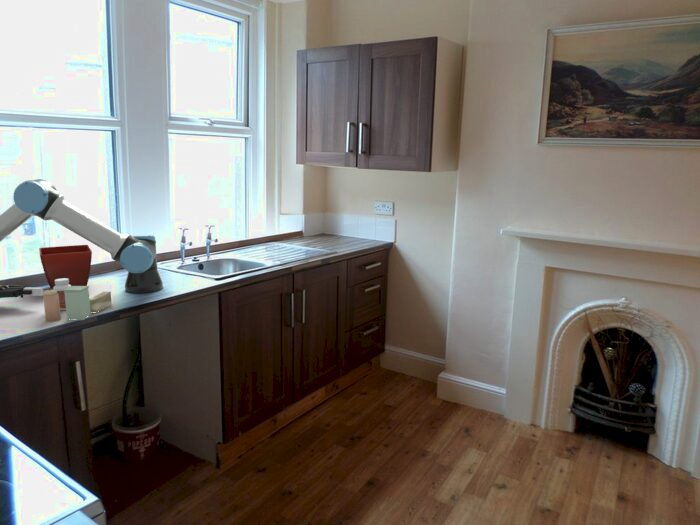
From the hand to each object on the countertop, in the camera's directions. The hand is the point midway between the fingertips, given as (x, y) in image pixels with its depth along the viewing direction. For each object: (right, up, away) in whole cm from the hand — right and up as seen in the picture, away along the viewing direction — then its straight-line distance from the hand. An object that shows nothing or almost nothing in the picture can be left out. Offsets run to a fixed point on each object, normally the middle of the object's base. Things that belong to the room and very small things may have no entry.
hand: (42, 291), depth 205 cm
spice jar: (+11, -9, -12) cm, 19 cm away
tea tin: (+19, -9, -10) cm, 23 cm away
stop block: (+21, -6, +1) cm, 22 cm away
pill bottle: (+8, -7, +1) cm, 10 cm away
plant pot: (-6, 0, +32) cm, 33 cm away
